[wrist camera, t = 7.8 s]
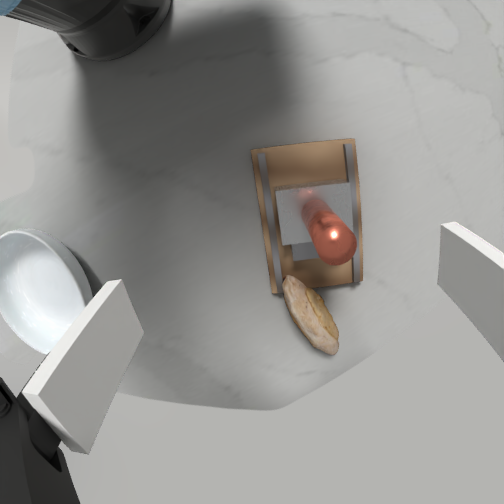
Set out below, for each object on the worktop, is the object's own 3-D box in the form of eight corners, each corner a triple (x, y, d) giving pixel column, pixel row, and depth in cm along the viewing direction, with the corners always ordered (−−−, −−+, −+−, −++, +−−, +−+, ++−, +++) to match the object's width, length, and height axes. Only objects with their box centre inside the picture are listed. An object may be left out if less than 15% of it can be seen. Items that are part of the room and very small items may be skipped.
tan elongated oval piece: (297, 288, 33) (264, 301, 35) (349, 358, 38) (320, 367, 40) (300, 259, 37) (270, 272, 39) (348, 330, 43) (321, 338, 45)
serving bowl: (100, 219, 39) (74, 235, 32) (117, 344, 46) (101, 370, 40) (3, 215, 39) (-24, 228, 32) (26, 322, 46) (7, 342, 40)
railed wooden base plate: (251, 149, 35) (250, 150, 33) (351, 138, 34) (357, 138, 32) (271, 288, 41) (272, 297, 39) (359, 275, 40) (365, 284, 38)
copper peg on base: (274, 186, 35) (280, 214, 23) (342, 178, 34) (384, 202, 22) (282, 252, 37) (292, 309, 25) (347, 244, 37) (384, 295, 25)
